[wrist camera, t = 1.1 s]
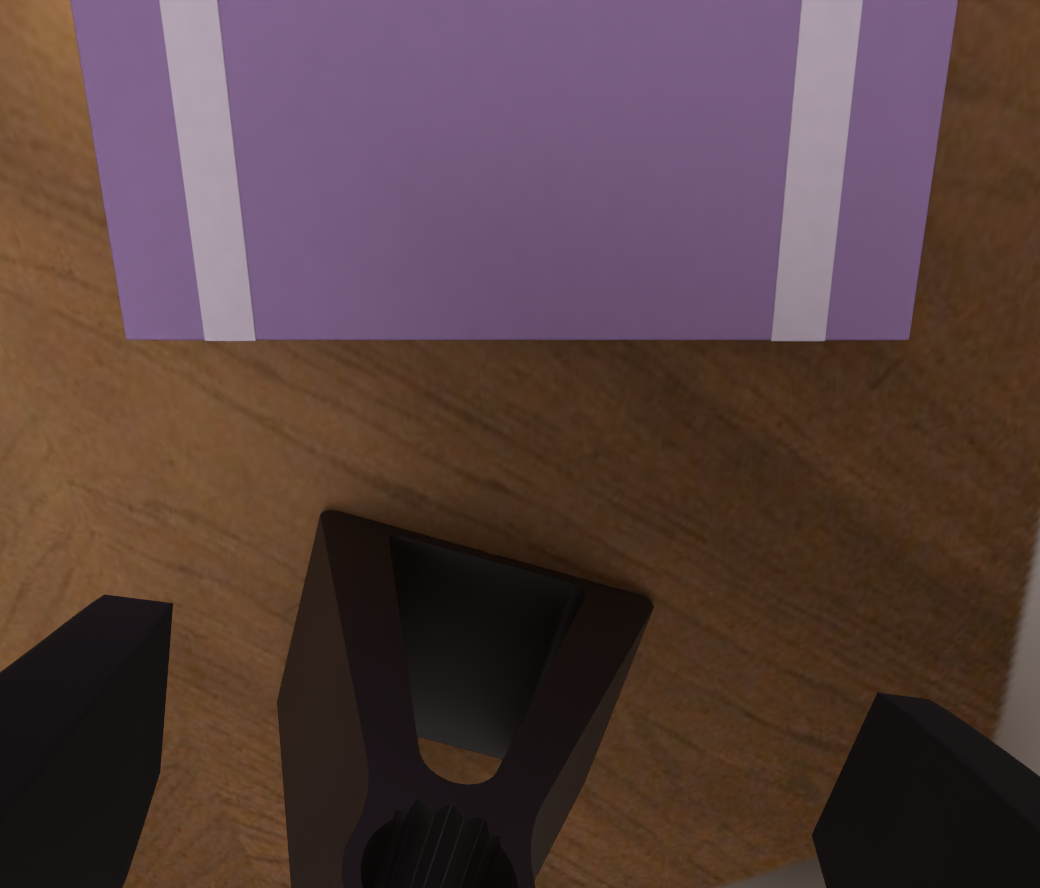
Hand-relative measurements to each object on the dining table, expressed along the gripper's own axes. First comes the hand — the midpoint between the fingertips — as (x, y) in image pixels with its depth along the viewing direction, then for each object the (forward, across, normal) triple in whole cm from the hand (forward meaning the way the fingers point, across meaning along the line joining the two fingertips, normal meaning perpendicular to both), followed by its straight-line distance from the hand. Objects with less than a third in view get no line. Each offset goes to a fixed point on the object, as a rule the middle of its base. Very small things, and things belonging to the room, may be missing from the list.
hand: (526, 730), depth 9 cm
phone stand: (+13, -1, +8) cm, 16 cm away
